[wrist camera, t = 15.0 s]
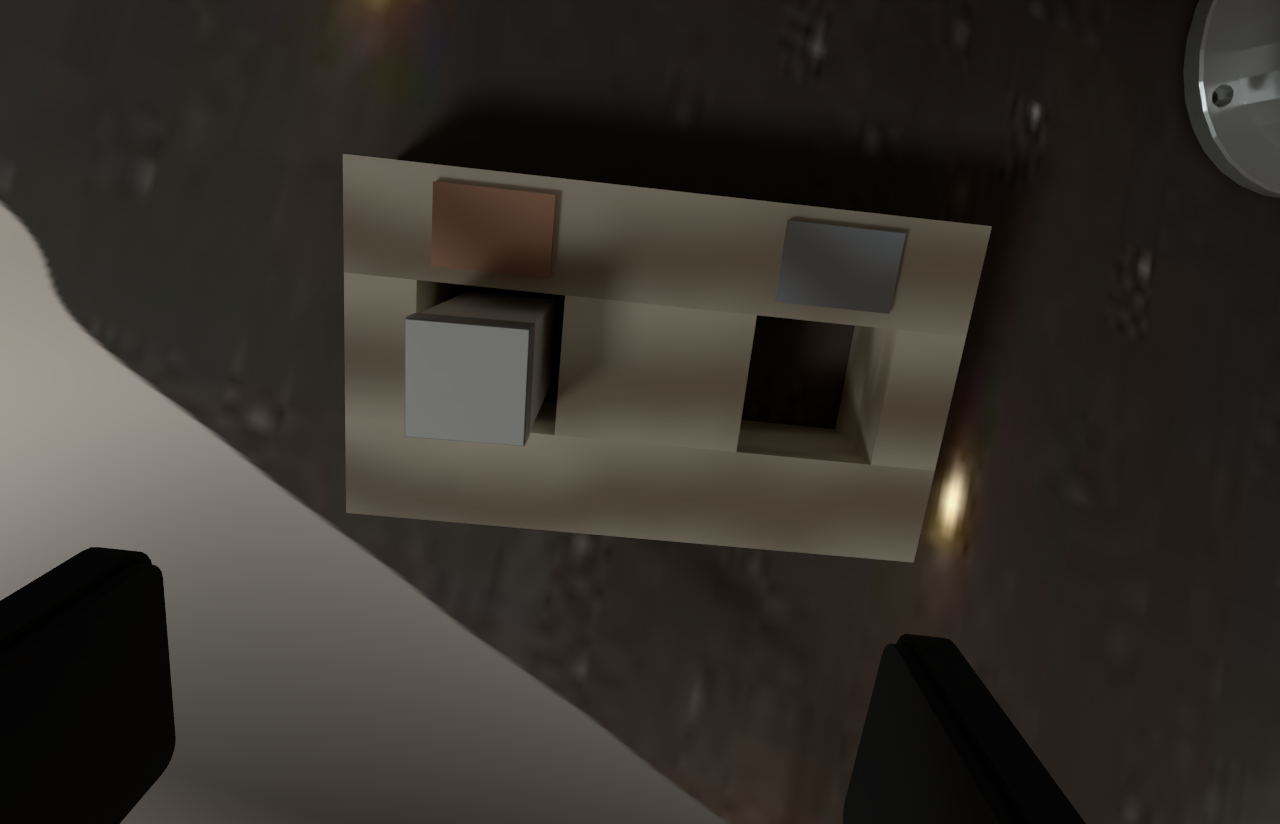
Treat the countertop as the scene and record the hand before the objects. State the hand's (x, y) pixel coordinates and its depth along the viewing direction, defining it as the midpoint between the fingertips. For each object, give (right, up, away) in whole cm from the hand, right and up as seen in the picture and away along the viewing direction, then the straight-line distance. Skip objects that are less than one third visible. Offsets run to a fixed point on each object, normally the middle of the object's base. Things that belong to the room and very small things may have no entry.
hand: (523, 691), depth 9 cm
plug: (-5, +7, +23) cm, 24 cm away
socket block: (+2, +6, +23) cm, 24 cm away
